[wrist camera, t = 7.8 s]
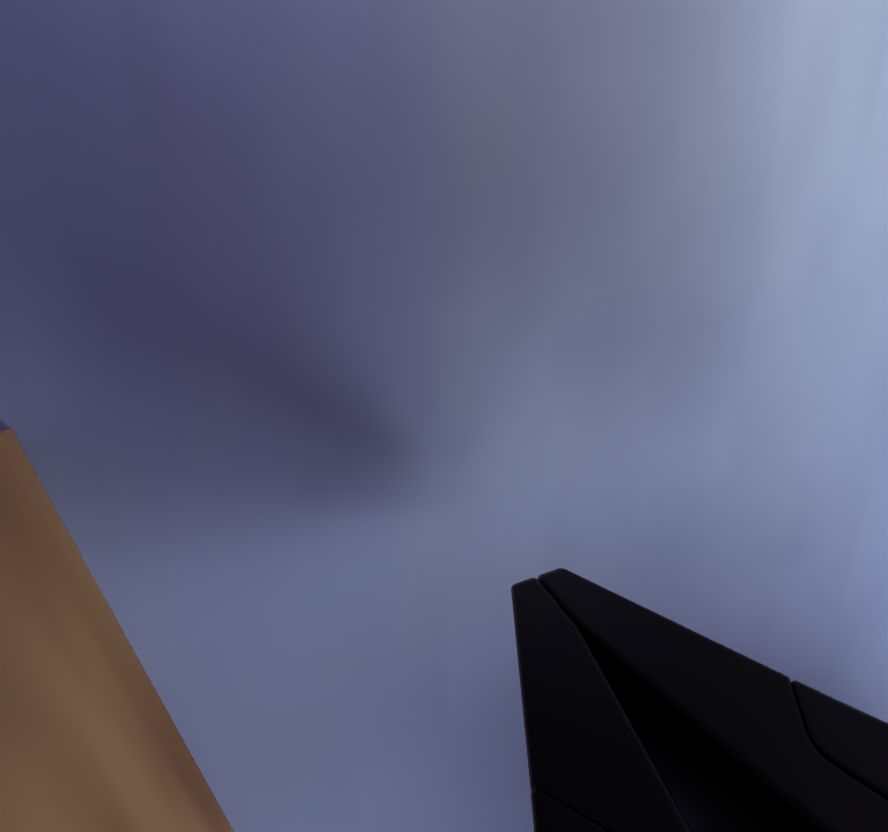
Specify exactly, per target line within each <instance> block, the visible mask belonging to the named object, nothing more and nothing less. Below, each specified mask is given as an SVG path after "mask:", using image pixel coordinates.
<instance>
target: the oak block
mask: <svg viewBox="0 0 888 832" xmlns="http://www.w3.org/2000/svg"><path fill="white" fill-rule="evenodd" d="M0 832H234V831H233V829H232V828H231V826H230V824H229V822H228V820H227V819H226V817H225V815H224V813H223V811H222V810H221V808H220V806H219V804H218V802H217V801H216V799H215V797H214V795H213V793H212V791H211V790H210V788H209V786H208V784H207V782H206V781H205V779H204V777H203V775H202V773H201V772H200V770H199V768H198V766H197V764H196V763H195V761H194V759H193V757H192V755H191V753H190V752H189V750H188V748H187V746H186V744H185V743H184V741H183V739H182V737H181V735H180V734H179V732H178V730H177V728H176V726H175V725H174V723H173V721H172V719H171V717H170V715H169V714H168V712H167V710H166V708H165V706H164V705H163V703H162V701H161V699H160V697H159V696H158V694H157V692H156V690H155V688H154V687H153V685H152V683H151V681H150V679H149V677H148V676H147V674H146V672H145V670H144V668H143V667H142V665H141V663H140V661H139V659H138V658H137V656H136V654H135V652H134V650H133V648H132V647H131V645H130V643H129V641H128V639H127V638H126V636H125V634H124V632H123V630H122V629H121V627H120V625H119V623H118V621H117V620H116V618H115V616H114V614H113V612H112V610H111V609H110V607H109V605H108V603H107V601H106V600H105V598H104V596H103V594H102V592H101V591H100V589H99V587H98V585H97V583H96V582H95V580H94V578H93V576H92V574H91V572H90V571H89V569H88V567H87V565H86V563H85V562H84V560H83V558H82V556H81V554H80V553H79V551H78V549H77V547H76V545H75V544H74V542H73V540H72V538H71V536H70V534H69V533H68V531H67V529H66V527H65V525H64V524H63V522H62V520H61V518H60V516H59V515H58V513H57V511H56V509H55V507H54V506H53V504H52V502H51V500H50V498H49V496H48V495H47V493H46V491H45V489H44V487H43V486H42V484H41V482H40V480H39V478H38V477H37V475H36V473H35V471H34V469H33V468H32V466H31V464H30V462H29V460H28V458H27V457H26V455H25V453H24V451H23V449H22V448H21V446H20V444H19V442H18V440H17V439H16V437H15V435H14V433H13V431H12V429H11V428H9V429H5V430H1V431H0Z"/></svg>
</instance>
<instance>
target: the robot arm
mask: <svg viewBox="0 0 888 832" xmlns="http://www.w3.org/2000/svg"><path fill="white" fill-rule="evenodd" d="M511 592H512V602H513V613H514V623H515V633H516V644H517V654H518V664H519V675H520V685H521V695H522V705H523V716H524V726H525V736H526V747H527V757H528V767H529V778H530V787H531V802H532V812H533V823H534V832H888V723H886V722H884V721H882V720H879V719H877V718H875V717H873V716H871V715H869V714H866V713H864V712H862V711H860V710H858V709H856V708H853V707H851V706H849V705H847V704H845V703H842V702H840V701H838V700H836V699H834V698H832V697H829V696H827V695H825V694H823V693H821V692H819V691H817V690H815V689H813V688H811V687H809V686H807V685H804V684H802V683H800V682H798V681H792V683H791V681H790V679H789V678H788V677H787V676H785V675H783V674H781V673H779V672H777V671H775V670H773V669H771V668H769V667H767V666H765V665H763V664H760V663H758V662H756V661H754V660H752V659H750V658H748V657H746V656H744V655H742V654H740V653H738V652H736V651H734V650H731V649H729V648H727V647H725V646H723V645H721V644H719V643H717V642H715V641H713V640H711V639H709V638H707V637H705V636H703V635H700V634H698V633H696V632H694V631H692V630H690V629H688V628H686V627H684V626H682V625H680V624H678V623H676V622H674V621H671V620H669V619H667V618H665V617H663V616H661V615H659V614H657V613H655V612H653V611H651V610H649V609H647V608H645V607H642V606H640V605H638V604H636V603H634V602H632V601H630V600H628V599H626V598H624V597H622V596H620V595H618V594H616V593H613V592H611V591H609V590H607V589H605V588H603V587H601V586H599V585H597V584H595V583H593V582H591V581H589V580H587V579H584V578H582V577H580V576H578V575H576V574H574V573H572V572H570V571H568V570H566V569H562V568H559V569H556V570H553V571H550V572H547V573H544V574H541V575H540V576H539V577H538V579H536V578H530V579H527V580H525V581H522V582H519V583H516V584H514V585H513V586H512V588H511Z"/></svg>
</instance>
